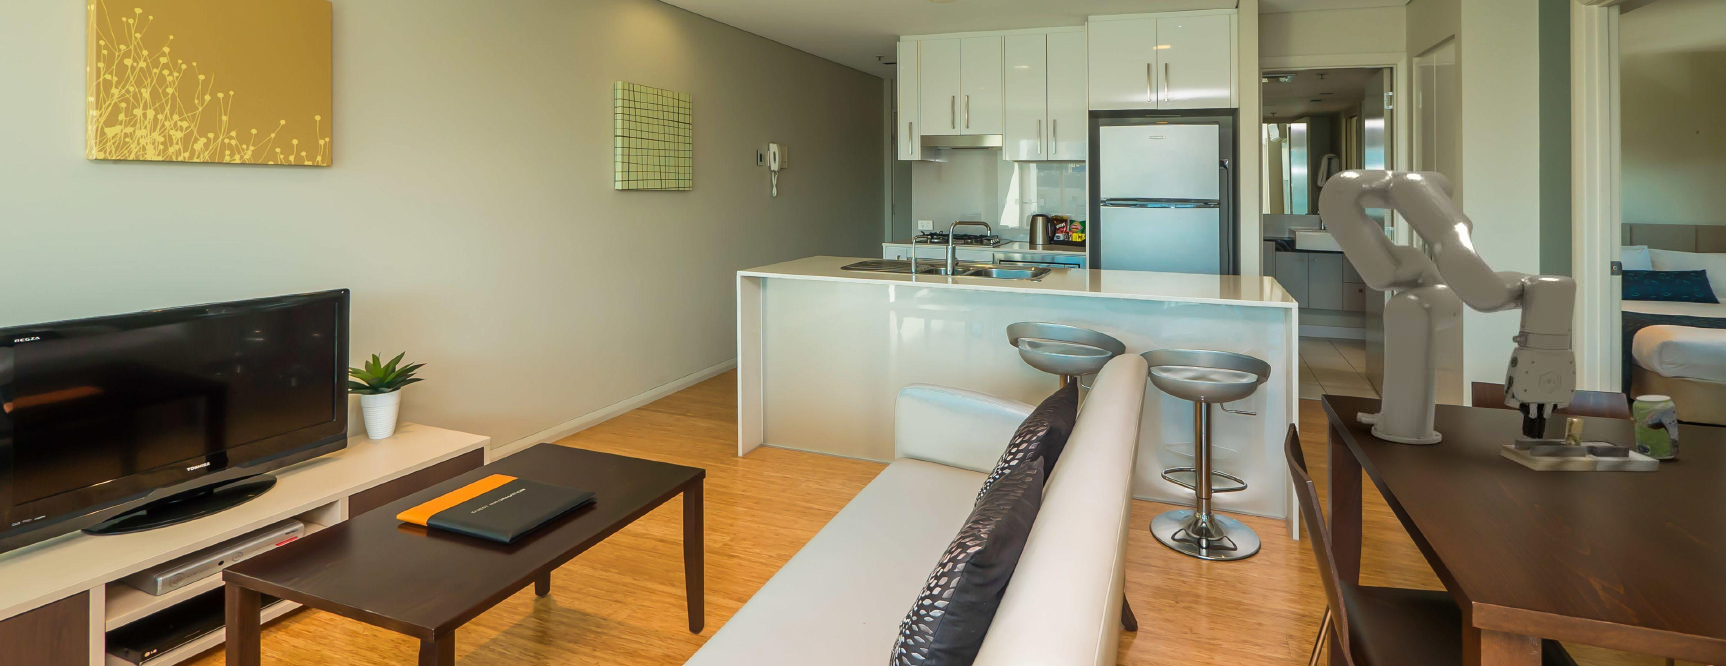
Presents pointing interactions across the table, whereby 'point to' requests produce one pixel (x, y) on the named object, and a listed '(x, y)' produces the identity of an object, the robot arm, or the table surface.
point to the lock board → (1576, 456)
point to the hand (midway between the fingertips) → (1532, 436)
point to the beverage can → (1656, 426)
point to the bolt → (1578, 436)
